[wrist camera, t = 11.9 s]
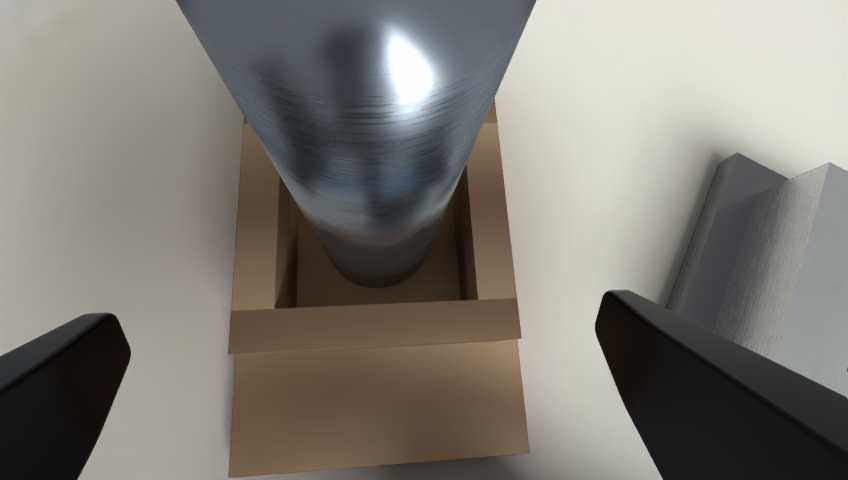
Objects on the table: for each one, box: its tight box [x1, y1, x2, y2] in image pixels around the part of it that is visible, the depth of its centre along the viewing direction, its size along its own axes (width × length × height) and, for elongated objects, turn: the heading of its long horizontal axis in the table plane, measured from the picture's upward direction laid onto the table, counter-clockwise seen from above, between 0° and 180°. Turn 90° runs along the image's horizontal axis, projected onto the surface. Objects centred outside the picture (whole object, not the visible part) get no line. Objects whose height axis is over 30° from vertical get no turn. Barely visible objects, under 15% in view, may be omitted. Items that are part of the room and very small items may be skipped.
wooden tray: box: [228, 99, 530, 478], centre depth 15 cm, size 16×10×4 cm, turn 3°
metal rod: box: [176, 0, 536, 288], centre depth 10 cm, size 4×4×12 cm
